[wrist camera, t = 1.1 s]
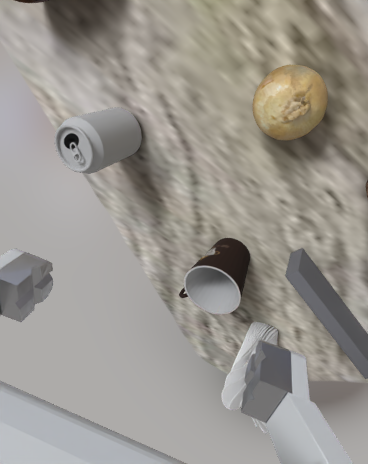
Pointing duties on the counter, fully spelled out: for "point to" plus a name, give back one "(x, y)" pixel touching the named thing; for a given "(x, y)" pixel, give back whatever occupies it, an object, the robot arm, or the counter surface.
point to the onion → (290, 102)
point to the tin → (31, 1)
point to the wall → (329, 308)
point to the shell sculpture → (236, 377)
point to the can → (97, 139)
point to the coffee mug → (218, 277)
